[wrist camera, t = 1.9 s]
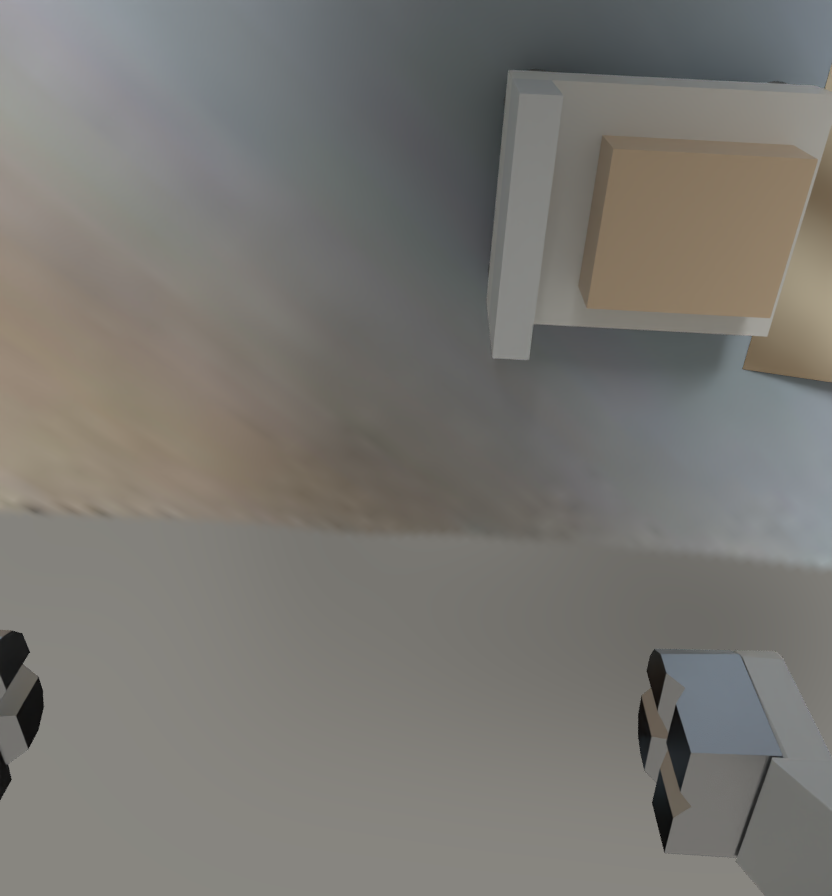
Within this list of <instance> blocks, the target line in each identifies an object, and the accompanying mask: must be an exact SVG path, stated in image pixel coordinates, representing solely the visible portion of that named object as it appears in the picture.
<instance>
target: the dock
mask: <svg viewBox="0 0 832 896" xmlns="http://www.w3.org/2000/svg"><path fill="white" fill-rule="evenodd" d="M825 89H826V90H829V91H831V92H832V65H831V68H830V72H829V75H828V78H827V82H826V85H825ZM743 369H745V370H752V371H759V372H765V373H772V374H779V375H785V376H792V377H799V378H806V379H812V380H819V381H826V382H832V125H831V129H830V132H829V135H828V139H827V142H826V145H825V148H824V152H823V155H822V158H821V162H820V165H819V168H818V171H817V175H816V178H815V181H814V185H813V188H812V191H811V195H810V198H809V201H808V204H807V208H806V211H805V214H804V218H803V221H802V224H801V227H800V231H799V234H798V237H797V241H796V244H795V247H794V250H793V254H792V257H791V260H790V264H789V267H788V270H787V274H786V277H785V280H784V283H783V287H782V290H781V293H780V297H779V300H778V303H777V306H776V310H775V313H774V316H773V320H772V323H771V326H770V329H769V333H768V336H767V337H764V336H752V338H751V342H750V345H749V348H748V352H747V355H746V359H745V362H744V366H743Z"/></svg>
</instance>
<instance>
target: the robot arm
mask: <svg viewBox="0 0 832 896" xmlns="http://www.w3.org/2000/svg"><path fill="white" fill-rule="evenodd" d="M29 653H30V651H29V648H28V646H27V643H26V641H25V639H24V636H23V634H22V633H19V632H15V631H11V630H0V800H1V798H2V796H3V794H4V793H5V791H6V789H7V787H8V785H9V784H10V782H11V780H12V779H11V774H10V770H9V766H8V764H9V763H10V762H12V761H13V760H14V759H16V758H17V757H19V756H20V755H21V754H23V753H24V752H25V751H27V750H28V749H29V747H30V745H31V743H32V741H33V740H34V738H35V736H36V734H37V732H38V730H39V726H40V721H41V717H42V713H43V708H44V702H43V689H42V686H41V683H40V680H39V677H38V676H37V675H36V674H35V673H33V672H32V671H31V670H30V669H28V668H27V667H26V666H25V665H24V664H23V663H24V661H25V659H26V658H27V656H28V654H29ZM647 674H648V678H649V681H650V686H651V688H650V689H649V690H648V691H647V692H645V693H644V694H643V695H642V696H641V701H640V707H639V713H638V739H639V747H640V754H641V758H642V763H643V767H644V771H645V772H646V773H647V774H648V775H649V776H650V777H651V778H652V779H653V780H654V781H655V782H656V787H655V792H654V796H653V801H652V805H653V809H654V813H655V817H656V821H657V825H658V829H659V833H660V837H661V841H662V845H663V849H664V853H671V854H685V855H701V856H715V857H730V858H737V859H736V862H737V863H738V865H739V866H740V867H741V868H742V869H743V870H744V872H745V873H746V874H747V875H748V876H749V878H750V879H751V880H752V881H753V882H754V884H755V885H756V886H757V887H758V888H759V890H760V891H761V892H762V893H763V894H764V895H765V896H832V757H831V755H830V753H829V751H828V748H827V747H826V745H825V742H824V740H823V738H822V736H821V734H820V732H819V730H818V728H817V726H816V724H815V722H814V720H813V718H812V716H811V714H810V712H809V710H808V708H807V706H806V704H805V702H804V700H803V698H802V696H801V694H800V692H799V690H798V688H797V686H796V683H795V681H794V679H793V677H792V676H791V673H790V671H789V669H788V667H787V665H786V663H785V661H784V659H783V657H782V656H781V655H779V654H778V653H777V652H776V651H745V650H744V651H743V650H742V651H741V650H735V651H730V650H687V649H654V650H653V652H652V654H651V655H650V658H649V662H648V667H647Z"/></svg>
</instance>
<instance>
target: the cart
mask: <svg viewBox="0 0 832 896" xmlns="http://www.w3.org/2000/svg"><path fill="white" fill-rule="evenodd" d="M831 125H832V92H831V91H829V90H826V89H823V88H821V87H818V86H815V85H797V84H787V83H784V82H778V81H773V82H768V83H757V82H738V81H718V80H699V79H679V78H660V77H640V76H621V75H601V74H582V73H562V72H547V71H544V70H540V69H531V70H527V71H523V70H508V78H507V88H506V93H505V98H504V120H503V130H502V141H501V151H500V162H499V172H498V183H497V193H496V204H495V214H494V225H493V236H492V246H491V257H490V264H489V268H488V288H487V299H486V303H487V312H488V322H489V332H490V341H491V351H492V358H497V359H515V360H529V356H530V348H531V340H532V333H533V325H534V324H540V325H559V326H577V327H596V328H615V329H633V330H652V331H671V332H689V333H708V334H726V335H745V336H764V337H767V336H768V333H769V329H770V326H771V323H772V320H773V316H774V313H775V310H776V306H777V303H778V300H779V297H780V293H781V290H782V287H783V283H784V280H785V277H786V274H787V270H788V267H789V264H790V260H791V257H792V254H793V250H794V247H795V244H796V241H797V237H798V234H799V231H800V227H801V224H802V221H803V218H804V214H805V211H806V208H807V204H808V201H809V198H810V195H811V191H812V188H813V185H814V181H815V178H816V175H817V171H818V168H819V165H820V162H821V158H822V155H823V152H824V148H825V145H826V142H827V139H828V135H829V132H830V129H831Z"/></svg>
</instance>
